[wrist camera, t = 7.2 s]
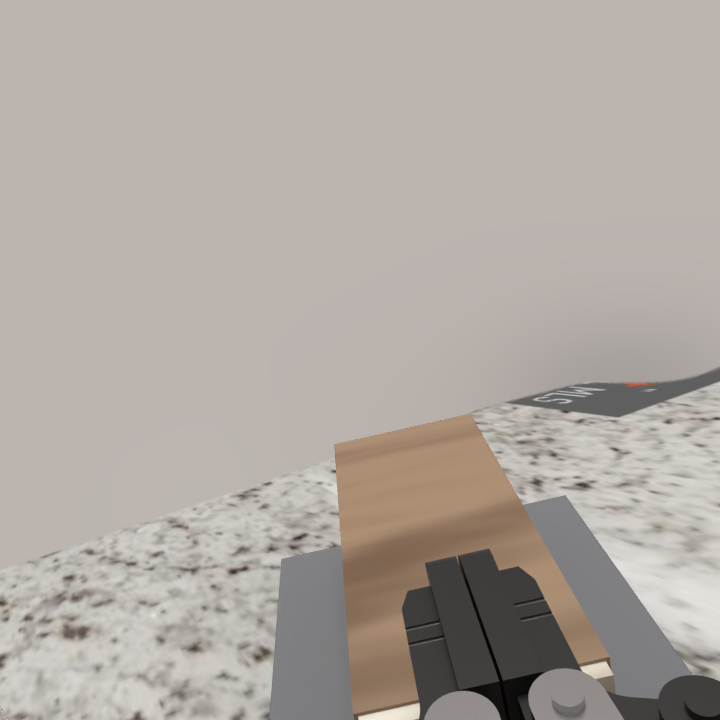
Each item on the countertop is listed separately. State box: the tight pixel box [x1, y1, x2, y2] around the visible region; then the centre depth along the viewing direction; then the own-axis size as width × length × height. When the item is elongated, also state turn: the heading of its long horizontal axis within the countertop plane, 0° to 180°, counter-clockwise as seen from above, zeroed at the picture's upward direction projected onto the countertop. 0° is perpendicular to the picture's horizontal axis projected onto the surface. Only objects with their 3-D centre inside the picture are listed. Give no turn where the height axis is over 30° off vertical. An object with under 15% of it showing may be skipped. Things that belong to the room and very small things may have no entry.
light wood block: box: [334, 414, 616, 720], centre depth 22 cm, size 6×6×14 cm
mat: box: [269, 496, 692, 720], centre depth 24 cm, size 14×14×1 cm
